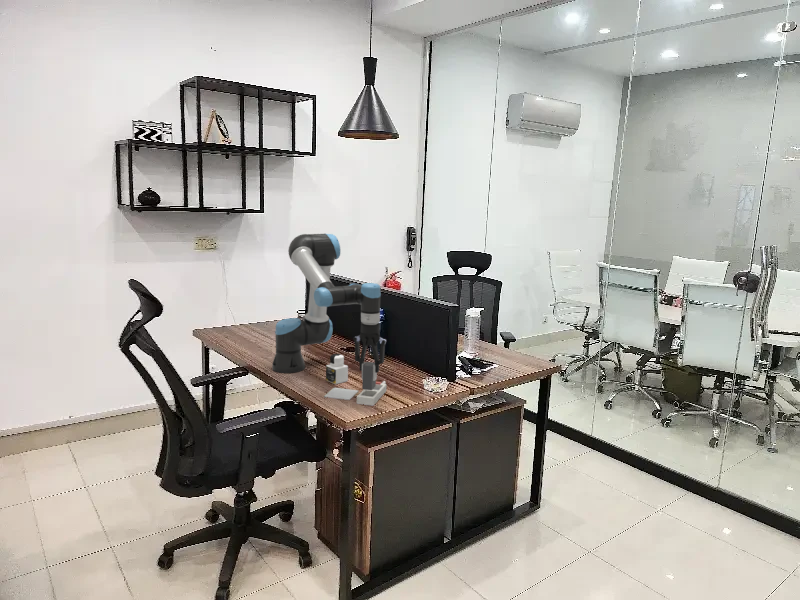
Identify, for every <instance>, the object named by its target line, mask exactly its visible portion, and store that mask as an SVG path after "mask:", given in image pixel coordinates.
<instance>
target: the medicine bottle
mask: <svg viewBox="0 0 800 600" xmlns="http://www.w3.org/2000/svg"><path fill="white" fill-rule="evenodd" d="M325 381H327V382H329V383H331V384H333V385H338V384H342V383H346V382H348V381H349V366H348V365H347V364H345V356H344V355H343V354H341V353H333V354H331V355H330V356H329V364H327V365H325Z"/></svg>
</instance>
